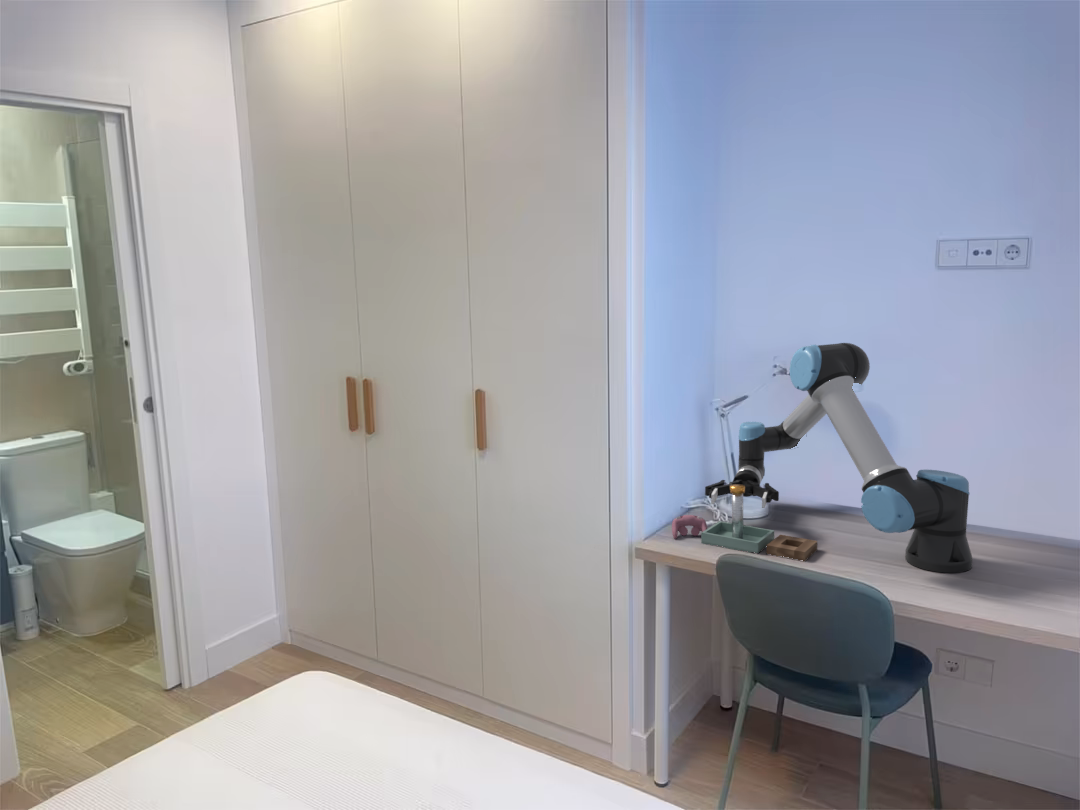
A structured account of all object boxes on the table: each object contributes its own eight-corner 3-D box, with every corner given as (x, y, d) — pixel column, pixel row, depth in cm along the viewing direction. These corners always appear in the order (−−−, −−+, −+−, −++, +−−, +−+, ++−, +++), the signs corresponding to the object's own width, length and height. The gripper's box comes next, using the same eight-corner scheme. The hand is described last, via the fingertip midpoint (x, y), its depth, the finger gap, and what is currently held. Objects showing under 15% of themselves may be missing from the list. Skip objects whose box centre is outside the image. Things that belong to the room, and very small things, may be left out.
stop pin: (747, 538, 225) (747, 485, 223) (741, 542, 222) (741, 488, 220) (733, 536, 228) (733, 483, 226) (727, 540, 224) (727, 486, 222)
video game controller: (707, 540, 231) (705, 516, 233) (708, 538, 227) (707, 513, 229) (671, 540, 232) (670, 516, 234) (672, 538, 228) (671, 513, 230)
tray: (774, 540, 225) (774, 530, 224) (757, 554, 215) (757, 543, 215) (719, 531, 234) (719, 520, 234) (701, 543, 225) (701, 532, 224)
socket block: (817, 550, 217) (817, 541, 217) (804, 561, 209) (804, 552, 209) (780, 543, 223) (780, 534, 223) (766, 554, 215) (766, 545, 215)
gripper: (790, 496, 240) (784, 518, 220) (704, 490, 249) (691, 510, 229) (791, 471, 239) (785, 491, 219) (704, 466, 247) (692, 484, 228)
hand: (737, 501), depth 224 cm, fingers open, 13 cm apart
